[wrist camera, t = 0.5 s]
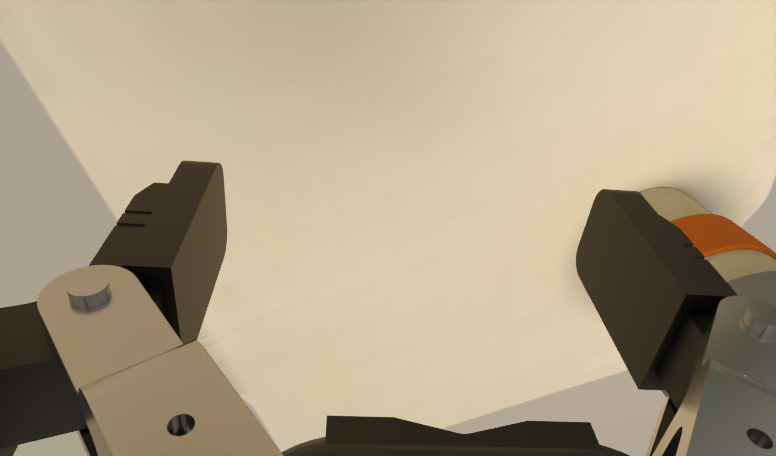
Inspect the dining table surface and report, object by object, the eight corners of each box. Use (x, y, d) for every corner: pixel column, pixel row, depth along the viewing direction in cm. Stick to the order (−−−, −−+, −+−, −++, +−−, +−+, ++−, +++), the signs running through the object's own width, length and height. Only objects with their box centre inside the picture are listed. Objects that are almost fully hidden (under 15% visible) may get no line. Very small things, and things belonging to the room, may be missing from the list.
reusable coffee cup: (742, 190, 49) (886, 319, 38) (649, 290, 56) (747, 425, 44) (635, 151, 44) (762, 284, 33) (547, 265, 51) (628, 409, 40)
